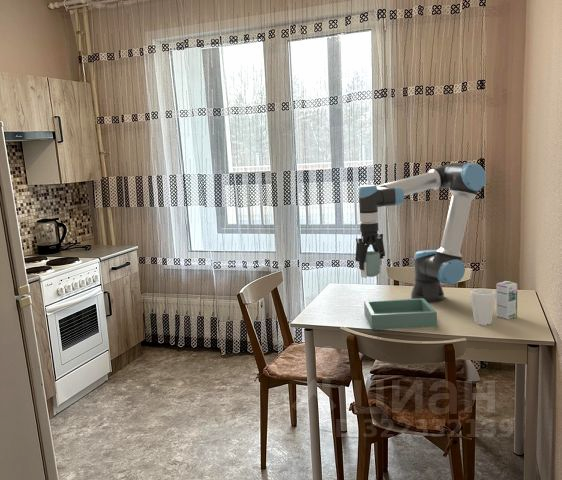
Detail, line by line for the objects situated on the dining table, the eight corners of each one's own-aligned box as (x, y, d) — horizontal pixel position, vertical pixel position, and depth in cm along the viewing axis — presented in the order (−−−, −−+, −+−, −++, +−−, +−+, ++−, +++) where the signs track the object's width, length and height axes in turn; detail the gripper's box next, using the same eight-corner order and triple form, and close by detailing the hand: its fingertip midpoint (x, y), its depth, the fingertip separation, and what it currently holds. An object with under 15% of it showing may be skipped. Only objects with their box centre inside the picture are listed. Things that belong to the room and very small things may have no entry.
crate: (423, 311, 222) (423, 298, 221) (436, 326, 202) (436, 312, 201) (364, 314, 222) (364, 301, 221) (371, 329, 203) (371, 315, 202)
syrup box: (507, 319, 205) (508, 285, 203) (495, 316, 210) (496, 282, 208) (517, 317, 208) (518, 282, 205) (505, 313, 213) (505, 280, 211)
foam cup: (494, 319, 206) (495, 288, 204) (496, 327, 198) (496, 295, 195) (469, 318, 209) (470, 288, 207) (470, 325, 201) (470, 294, 199)
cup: (368, 279, 209) (367, 255, 208) (358, 275, 216) (357, 252, 215) (384, 276, 212) (383, 253, 211) (373, 272, 219) (372, 250, 218)
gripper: (380, 218, 219) (381, 269, 223) (344, 225, 208) (347, 278, 212) (392, 219, 213) (394, 272, 217) (357, 226, 202) (359, 281, 206)
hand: (371, 275), depth 214 cm, fingers closed on cup, 8 cm apart
